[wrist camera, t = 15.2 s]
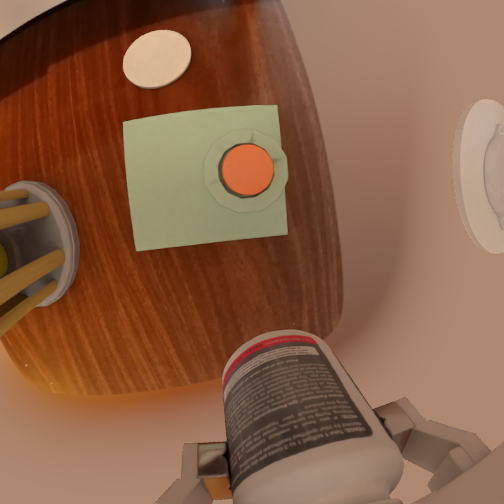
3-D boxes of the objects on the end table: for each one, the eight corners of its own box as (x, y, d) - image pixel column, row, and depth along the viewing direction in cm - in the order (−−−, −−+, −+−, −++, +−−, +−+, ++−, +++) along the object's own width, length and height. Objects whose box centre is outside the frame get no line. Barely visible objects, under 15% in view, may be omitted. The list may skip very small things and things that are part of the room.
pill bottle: (201, 393, 12) (207, 590, 3) (261, 305, 12) (357, 544, 2) (291, 422, 14) (346, 575, 4) (353, 350, 13) (471, 502, 3)
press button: (267, 145, 23) (271, 142, 21) (271, 192, 24) (275, 193, 22) (219, 149, 22) (219, 146, 21) (223, 196, 23) (224, 197, 22)
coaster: (190, 28, 22) (190, 25, 22) (192, 83, 24) (192, 81, 23) (125, 39, 21) (124, 37, 21) (123, 95, 23) (122, 93, 23)
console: (272, 110, 25) (281, 99, 22) (282, 230, 28) (293, 238, 25) (129, 126, 24) (116, 118, 20) (141, 246, 27) (130, 256, 23)
